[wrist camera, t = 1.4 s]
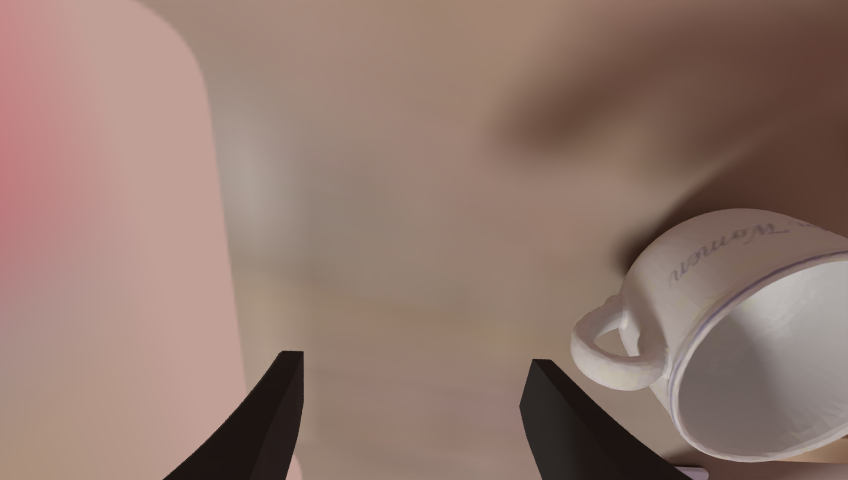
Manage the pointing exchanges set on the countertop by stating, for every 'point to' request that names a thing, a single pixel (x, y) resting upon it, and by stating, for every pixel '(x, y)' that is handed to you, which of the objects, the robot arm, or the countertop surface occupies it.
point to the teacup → (734, 333)
